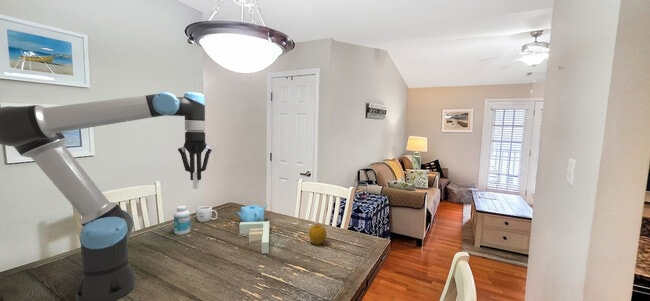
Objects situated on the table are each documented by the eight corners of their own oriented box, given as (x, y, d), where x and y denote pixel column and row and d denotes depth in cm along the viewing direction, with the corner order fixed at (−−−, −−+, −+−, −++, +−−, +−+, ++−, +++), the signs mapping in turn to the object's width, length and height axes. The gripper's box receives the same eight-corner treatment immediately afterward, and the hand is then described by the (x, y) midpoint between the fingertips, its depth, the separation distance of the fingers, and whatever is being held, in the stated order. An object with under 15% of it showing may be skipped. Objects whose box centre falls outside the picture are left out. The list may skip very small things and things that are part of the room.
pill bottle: (173, 231, 139) (173, 205, 138) (189, 228, 143) (189, 203, 142) (174, 236, 133) (174, 209, 131) (191, 233, 137) (191, 207, 135)
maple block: (262, 245, 126) (262, 233, 125) (249, 246, 124) (249, 233, 124) (262, 240, 131) (262, 228, 131) (250, 240, 130) (250, 228, 130)
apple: (329, 244, 129) (330, 226, 128) (315, 249, 123) (316, 230, 123) (319, 238, 135) (319, 221, 135) (305, 242, 130) (305, 224, 129)
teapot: (232, 223, 152) (232, 204, 151) (262, 217, 163) (262, 199, 161) (242, 233, 139) (243, 211, 138) (274, 226, 150) (274, 206, 149)
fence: (268, 253, 118) (268, 242, 118) (233, 255, 115) (233, 244, 115) (269, 230, 144) (269, 221, 143) (240, 231, 141) (240, 222, 140)
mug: (193, 222, 151) (193, 209, 151) (201, 217, 160) (201, 204, 159) (214, 223, 151) (213, 210, 150) (220, 218, 159) (220, 205, 158)
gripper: (214, 131, 114) (214, 185, 117) (181, 130, 112) (182, 186, 114) (210, 131, 107) (210, 189, 109) (174, 131, 105) (175, 190, 107)
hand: (196, 187), depth 112 cm, fingers closed
